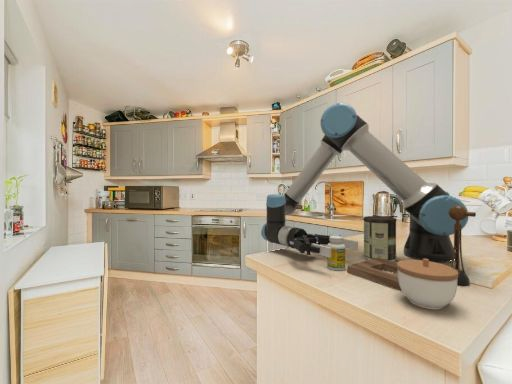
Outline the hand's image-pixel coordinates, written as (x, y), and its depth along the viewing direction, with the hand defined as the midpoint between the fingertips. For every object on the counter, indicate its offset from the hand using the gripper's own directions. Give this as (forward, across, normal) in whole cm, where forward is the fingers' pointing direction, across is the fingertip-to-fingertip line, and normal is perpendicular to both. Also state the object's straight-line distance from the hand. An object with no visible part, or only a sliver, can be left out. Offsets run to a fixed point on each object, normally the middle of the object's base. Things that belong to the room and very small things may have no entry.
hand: (344, 248), depth 72 cm
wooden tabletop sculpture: (+23, -15, -7) cm, 28 cm away
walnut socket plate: (+10, -6, -6) cm, 13 cm away
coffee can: (0, -21, -7) cm, 22 cm away
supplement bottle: (-3, 0, -7) cm, 7 cm away
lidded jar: (+22, +4, -7) cm, 24 cm away
